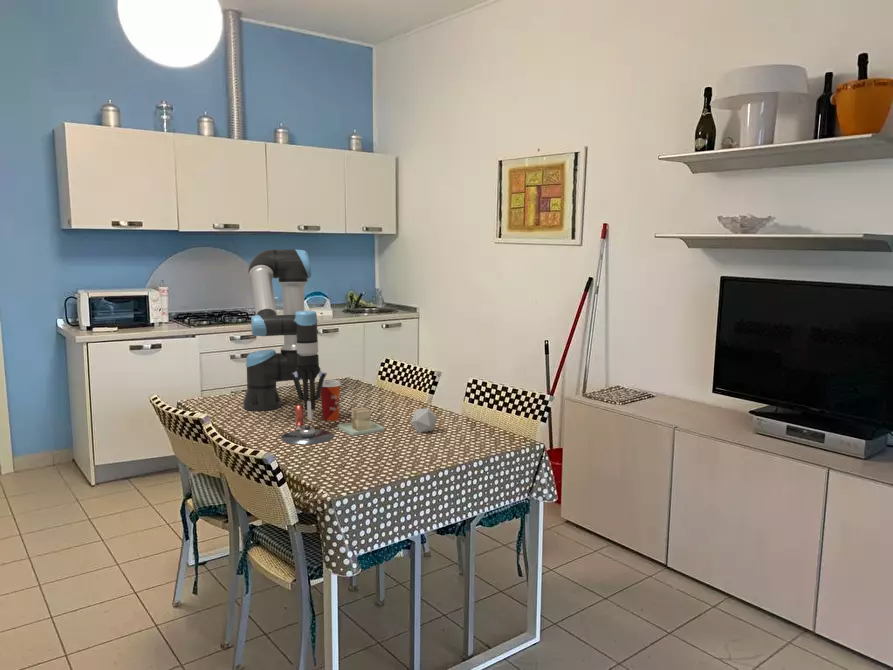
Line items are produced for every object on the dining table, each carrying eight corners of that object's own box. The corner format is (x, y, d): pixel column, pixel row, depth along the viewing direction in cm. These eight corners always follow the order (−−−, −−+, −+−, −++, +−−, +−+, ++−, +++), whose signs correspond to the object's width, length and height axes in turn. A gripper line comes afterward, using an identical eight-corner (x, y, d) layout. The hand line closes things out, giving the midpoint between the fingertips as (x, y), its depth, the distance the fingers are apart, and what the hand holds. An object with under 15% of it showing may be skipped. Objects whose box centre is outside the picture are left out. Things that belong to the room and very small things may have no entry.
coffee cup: (337, 422, 255) (336, 383, 253) (316, 421, 257) (315, 382, 255) (344, 417, 264) (344, 379, 262) (324, 415, 265) (324, 378, 263)
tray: (337, 428, 247) (337, 424, 247) (368, 423, 254) (368, 419, 254) (352, 436, 237) (352, 432, 237) (384, 431, 244) (384, 427, 243)
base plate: (274, 435, 238) (273, 424, 237) (321, 428, 248) (321, 417, 247) (292, 448, 223) (292, 436, 222) (342, 440, 233) (342, 428, 232)
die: (431, 428, 251) (414, 407, 250) (445, 420, 245) (429, 399, 244) (418, 441, 245) (402, 419, 244) (433, 434, 239) (416, 411, 238)
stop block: (351, 428, 246) (351, 409, 245) (364, 426, 249) (364, 407, 248) (357, 431, 242) (357, 412, 241) (370, 429, 244) (370, 410, 244)
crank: (316, 436, 234) (316, 412, 233) (302, 438, 232) (302, 413, 231) (305, 426, 246) (304, 403, 245) (291, 428, 244) (291, 405, 243)
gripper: (327, 352, 245) (330, 415, 247) (292, 352, 245) (295, 416, 248) (323, 355, 237) (325, 420, 240) (287, 355, 238) (290, 421, 240)
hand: (310, 418), depth 244 cm, fingers closed
